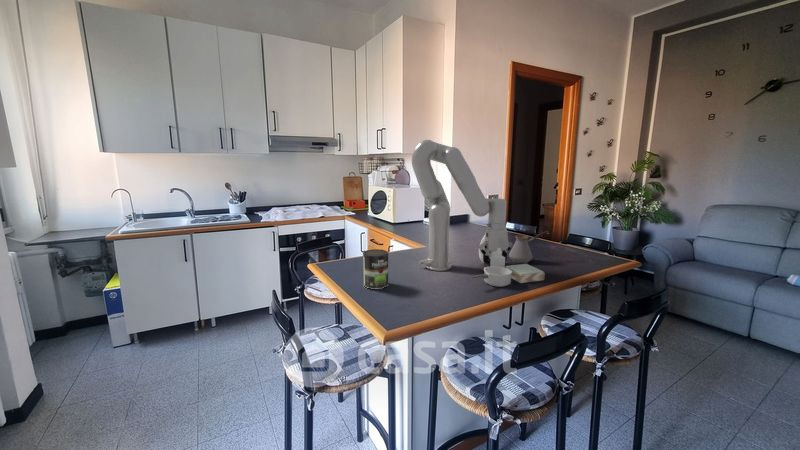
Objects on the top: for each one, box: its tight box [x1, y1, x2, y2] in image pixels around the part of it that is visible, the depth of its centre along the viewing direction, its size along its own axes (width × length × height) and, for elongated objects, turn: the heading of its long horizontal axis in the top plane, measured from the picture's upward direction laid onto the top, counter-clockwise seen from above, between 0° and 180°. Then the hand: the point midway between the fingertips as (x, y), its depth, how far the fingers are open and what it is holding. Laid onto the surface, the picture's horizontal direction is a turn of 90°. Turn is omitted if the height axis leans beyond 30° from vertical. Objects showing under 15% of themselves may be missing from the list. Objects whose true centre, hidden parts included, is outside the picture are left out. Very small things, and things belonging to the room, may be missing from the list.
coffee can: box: [362, 248, 389, 289], centre depth 136 cm, size 10×10×14 cm
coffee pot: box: [508, 230, 550, 264], centre depth 169 cm, size 21×12×15 cm, turn 106°
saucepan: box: [470, 266, 512, 288], centre depth 137 cm, size 12×20×6 cm, turn 120°
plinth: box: [505, 263, 546, 284], centre depth 146 cm, size 12×12×4 cm
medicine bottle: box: [484, 248, 506, 268], centre depth 154 cm, size 7×7×12 cm
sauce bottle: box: [478, 232, 489, 264], centre depth 164 cm, size 8×8×18 cm
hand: (494, 261), depth 155 cm, fingers open, 9 cm apart
